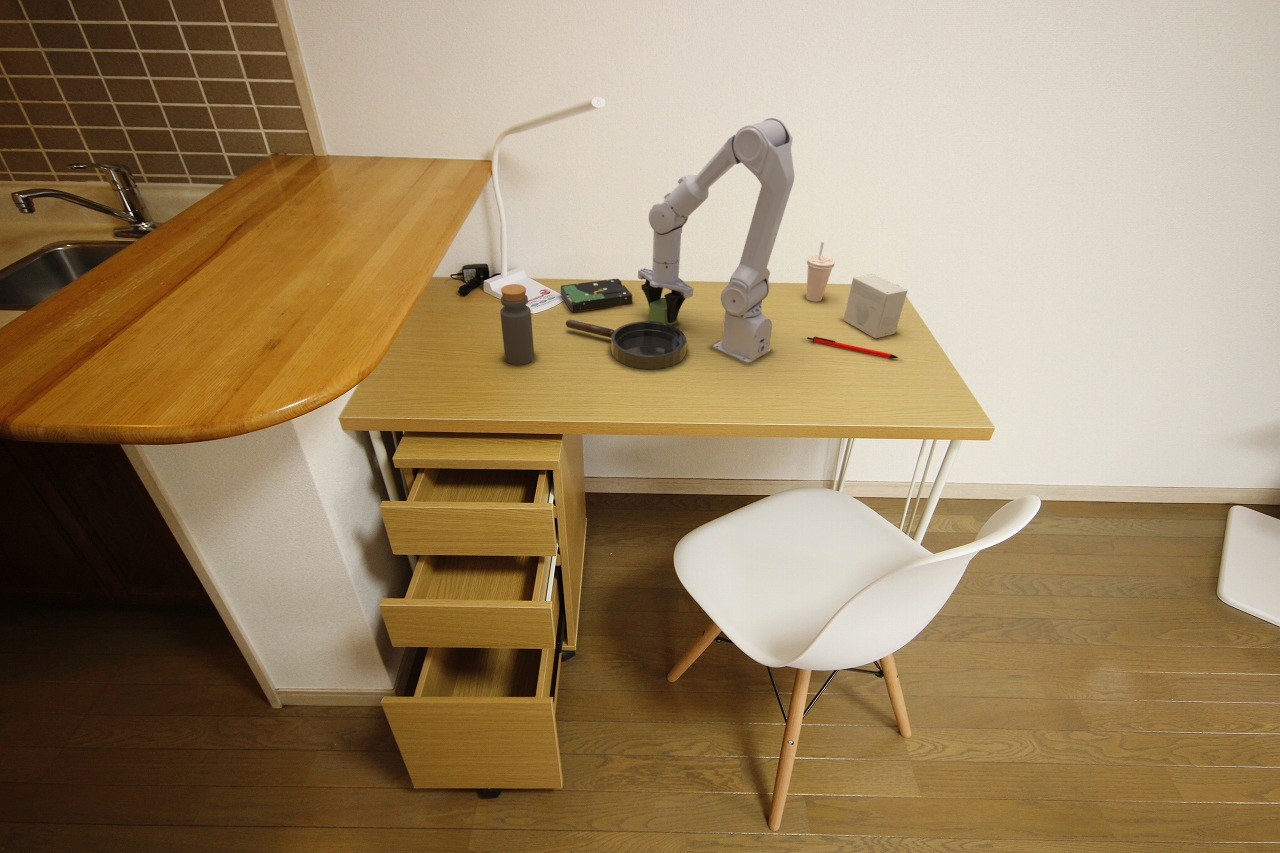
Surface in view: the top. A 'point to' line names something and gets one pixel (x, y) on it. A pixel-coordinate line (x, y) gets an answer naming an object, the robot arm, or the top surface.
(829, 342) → the pen
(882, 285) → the cosmetics box
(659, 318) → the block
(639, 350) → the skillet
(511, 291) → the bottle
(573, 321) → the skillet handle
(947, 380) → the top surface
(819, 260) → the smoothie
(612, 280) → the disk drive
